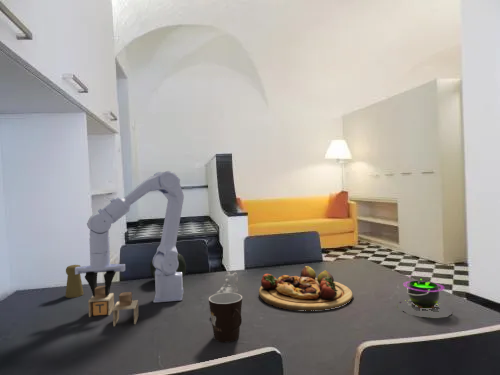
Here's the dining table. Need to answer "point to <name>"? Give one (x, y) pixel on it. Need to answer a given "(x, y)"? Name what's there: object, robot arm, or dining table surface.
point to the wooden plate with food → (304, 291)
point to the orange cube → (100, 308)
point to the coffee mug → (226, 316)
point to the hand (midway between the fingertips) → (101, 295)
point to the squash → (180, 268)
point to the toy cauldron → (423, 294)
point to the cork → (73, 283)
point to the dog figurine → (229, 284)
